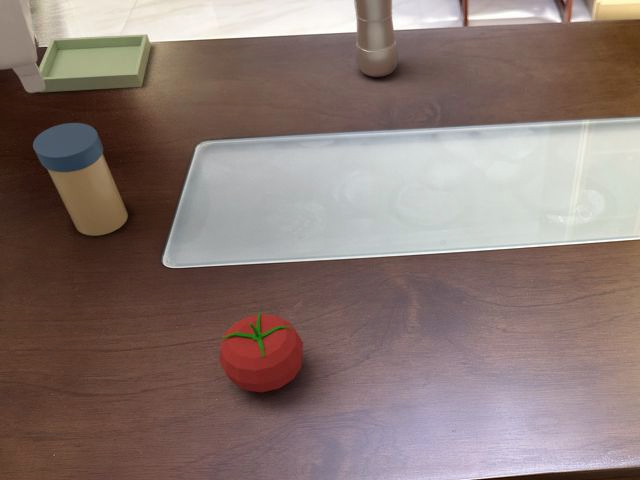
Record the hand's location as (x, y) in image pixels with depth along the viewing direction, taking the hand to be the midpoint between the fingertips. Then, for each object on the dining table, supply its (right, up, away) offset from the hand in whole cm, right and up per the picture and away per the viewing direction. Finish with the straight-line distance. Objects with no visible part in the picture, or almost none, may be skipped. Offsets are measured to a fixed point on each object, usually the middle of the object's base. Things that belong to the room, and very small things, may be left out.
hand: (33, 67), depth 72 cm
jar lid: (0, -6, +7) cm, 9 cm away
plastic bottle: (+30, +15, +39) cm, 51 cm away
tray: (-13, +14, +37) cm, 42 cm away
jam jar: (-1, -13, +15) cm, 19 cm away
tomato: (+23, -31, 0) cm, 39 cm away
